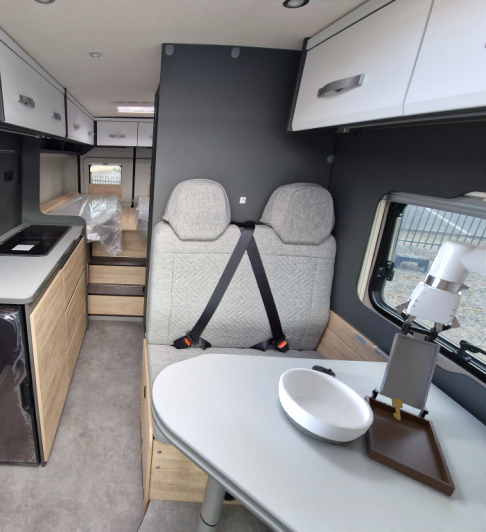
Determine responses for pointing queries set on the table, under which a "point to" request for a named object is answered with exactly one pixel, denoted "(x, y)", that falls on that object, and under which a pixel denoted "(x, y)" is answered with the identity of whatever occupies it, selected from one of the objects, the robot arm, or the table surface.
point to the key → (397, 407)
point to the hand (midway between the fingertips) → (416, 337)
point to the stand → (422, 413)
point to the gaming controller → (324, 370)
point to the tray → (407, 446)
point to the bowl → (323, 406)
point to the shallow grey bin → (410, 368)
